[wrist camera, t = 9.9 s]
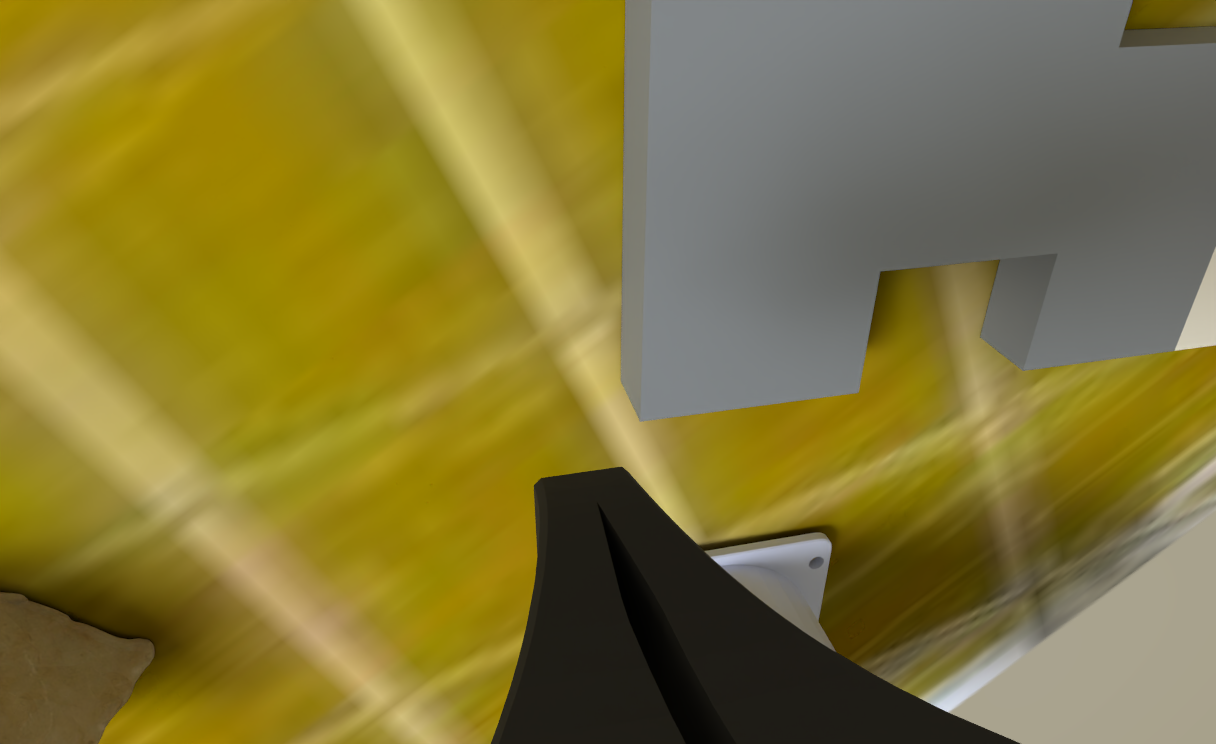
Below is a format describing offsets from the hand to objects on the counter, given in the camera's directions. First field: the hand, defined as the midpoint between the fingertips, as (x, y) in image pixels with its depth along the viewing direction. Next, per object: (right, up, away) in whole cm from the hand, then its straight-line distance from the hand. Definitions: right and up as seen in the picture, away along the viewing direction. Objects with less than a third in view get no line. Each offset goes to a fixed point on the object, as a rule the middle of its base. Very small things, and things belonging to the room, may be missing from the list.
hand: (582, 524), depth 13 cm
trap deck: (+12, +8, +9) cm, 17 cm away
